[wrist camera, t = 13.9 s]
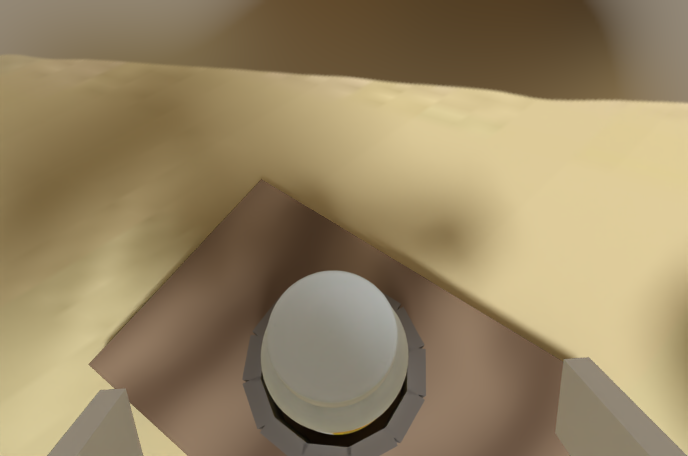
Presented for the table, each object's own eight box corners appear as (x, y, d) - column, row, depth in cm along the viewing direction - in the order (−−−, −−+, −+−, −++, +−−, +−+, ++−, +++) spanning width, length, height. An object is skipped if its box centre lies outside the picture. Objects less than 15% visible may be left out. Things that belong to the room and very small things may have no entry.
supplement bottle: (273, 420, 20) (213, 404, 11) (302, 314, 22) (270, 235, 14) (382, 448, 19) (405, 452, 11) (400, 336, 22) (431, 267, 13)
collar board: (104, 369, 23) (50, 353, 19) (265, 191, 28) (250, 150, 24) (462, 694, 17) (495, 773, 13) (586, 388, 22) (637, 375, 18)
